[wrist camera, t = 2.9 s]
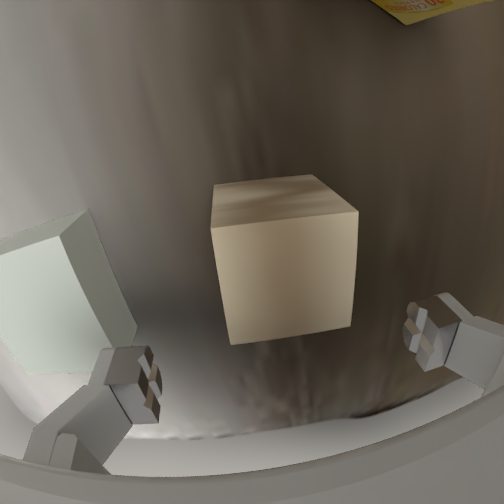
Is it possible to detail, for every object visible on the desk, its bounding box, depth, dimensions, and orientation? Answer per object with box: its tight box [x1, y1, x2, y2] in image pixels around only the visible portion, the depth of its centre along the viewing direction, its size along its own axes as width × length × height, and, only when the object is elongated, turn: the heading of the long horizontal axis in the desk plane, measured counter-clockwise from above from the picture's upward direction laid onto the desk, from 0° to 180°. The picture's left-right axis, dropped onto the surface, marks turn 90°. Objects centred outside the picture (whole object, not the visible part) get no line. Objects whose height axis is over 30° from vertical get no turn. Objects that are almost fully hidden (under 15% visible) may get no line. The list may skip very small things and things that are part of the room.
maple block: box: [211, 175, 359, 345], centre depth 14 cm, size 5×5×6 cm
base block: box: [0, 209, 137, 375], centre depth 15 cm, size 8×8×4 cm
